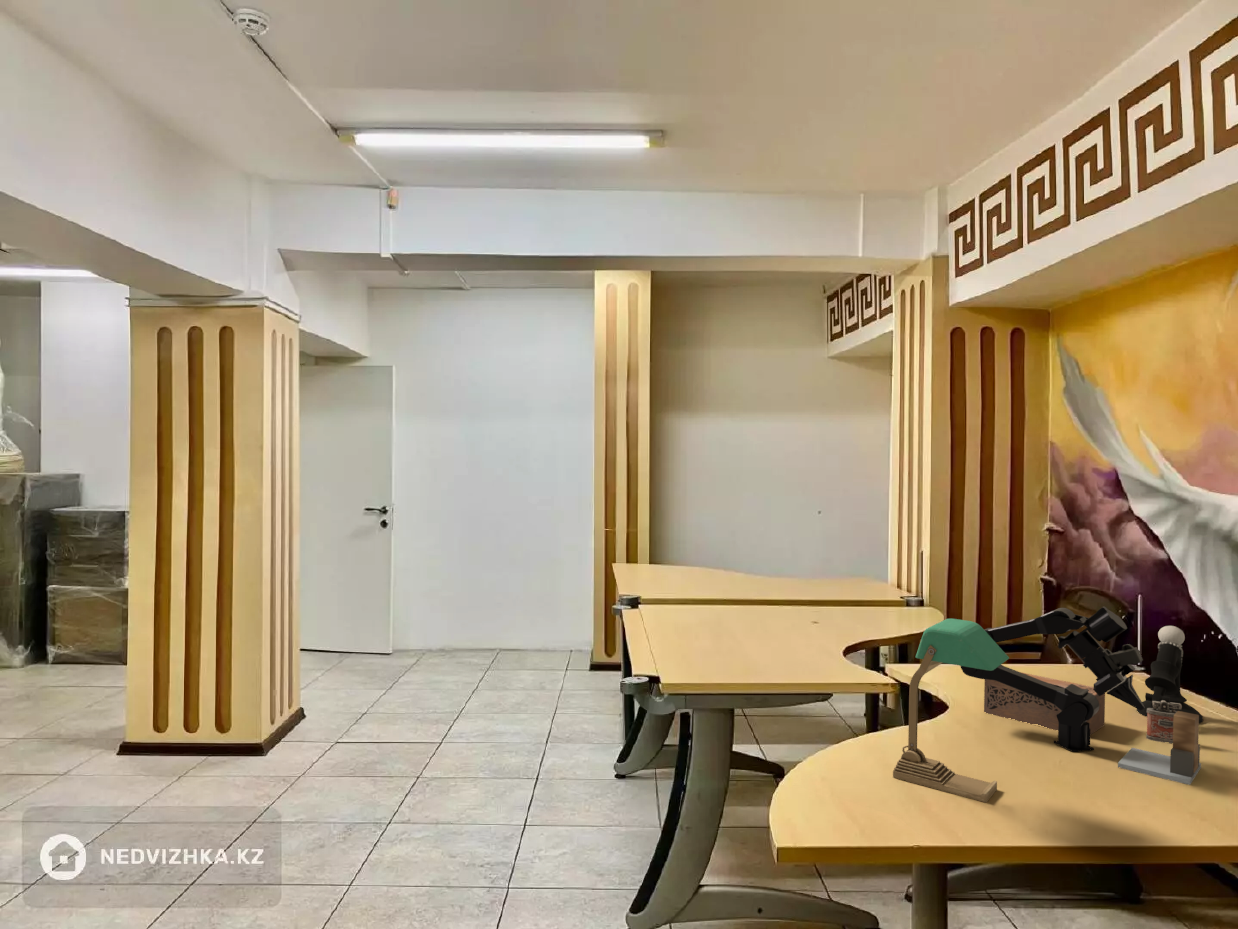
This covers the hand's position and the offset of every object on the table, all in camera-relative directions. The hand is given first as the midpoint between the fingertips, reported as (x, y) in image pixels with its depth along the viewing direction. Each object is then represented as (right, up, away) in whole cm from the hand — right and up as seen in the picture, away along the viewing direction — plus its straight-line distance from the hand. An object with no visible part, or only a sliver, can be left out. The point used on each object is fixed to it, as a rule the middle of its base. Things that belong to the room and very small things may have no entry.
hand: (1142, 709), depth 186 cm
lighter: (+16, -13, +15) cm, 26 cm away
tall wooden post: (+6, -11, -6) cm, 14 cm away
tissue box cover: (-7, -13, +31) cm, 34 cm away
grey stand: (+2, -13, -3) cm, 13 cm away
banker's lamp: (-52, -12, -14) cm, 55 cm away
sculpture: (+28, -13, +33) cm, 45 cm away
